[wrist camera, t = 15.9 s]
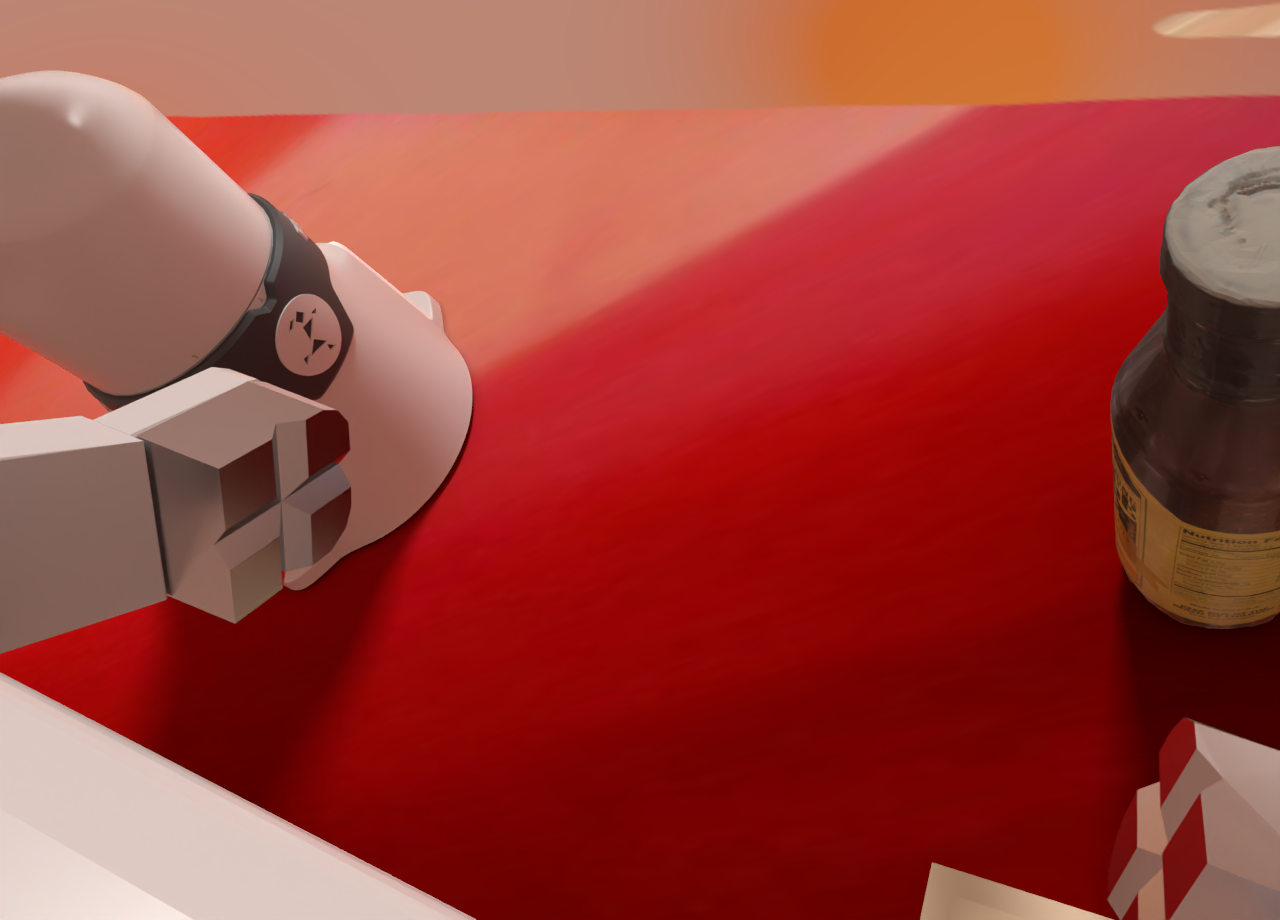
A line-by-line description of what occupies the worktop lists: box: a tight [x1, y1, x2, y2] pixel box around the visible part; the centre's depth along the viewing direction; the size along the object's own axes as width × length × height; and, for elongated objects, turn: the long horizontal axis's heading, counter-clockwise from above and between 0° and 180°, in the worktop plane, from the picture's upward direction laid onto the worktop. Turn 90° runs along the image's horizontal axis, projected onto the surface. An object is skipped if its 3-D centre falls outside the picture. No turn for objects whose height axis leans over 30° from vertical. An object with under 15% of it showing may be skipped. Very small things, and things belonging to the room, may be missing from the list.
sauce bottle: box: [1111, 146, 1280, 629], centre depth 28 cm, size 7×6×20 cm
